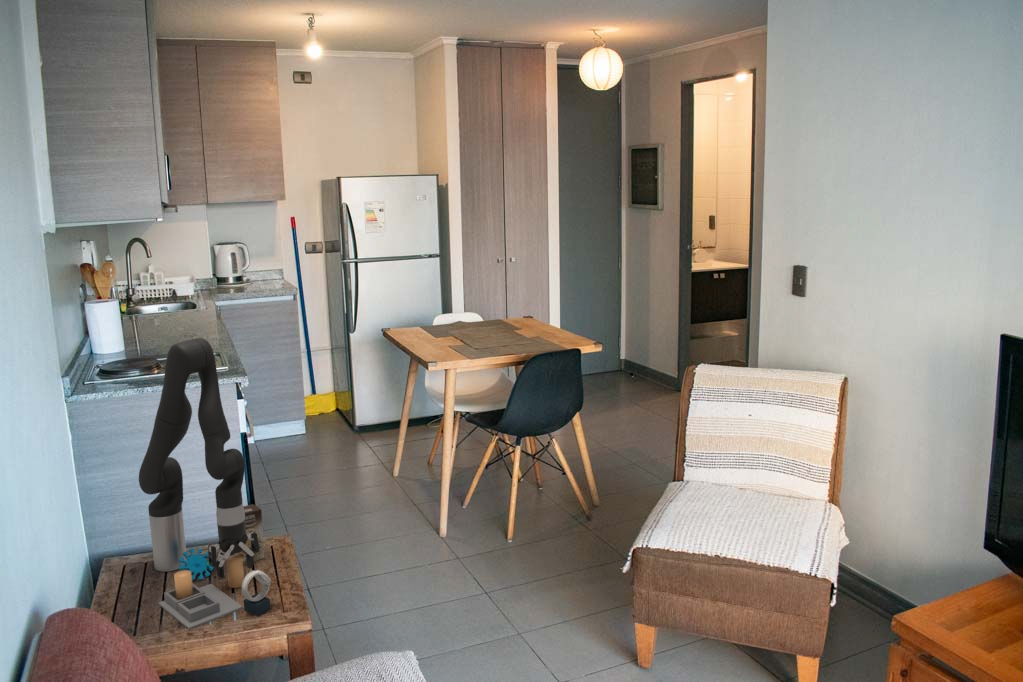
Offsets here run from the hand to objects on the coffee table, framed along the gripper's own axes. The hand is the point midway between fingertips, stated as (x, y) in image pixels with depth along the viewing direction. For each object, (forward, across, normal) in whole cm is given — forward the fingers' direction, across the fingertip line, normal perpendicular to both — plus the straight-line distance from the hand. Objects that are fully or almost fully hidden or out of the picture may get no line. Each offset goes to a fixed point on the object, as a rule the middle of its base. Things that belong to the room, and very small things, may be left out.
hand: (235, 572), depth 240 cm
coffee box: (+4, -10, -13) cm, 17 cm away
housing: (+4, +13, +5) cm, 14 cm away
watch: (+4, +3, +18) cm, 18 cm away
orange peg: (+4, 0, 0) cm, 4 cm away
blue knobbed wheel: (+4, +5, -14) cm, 15 cm away
